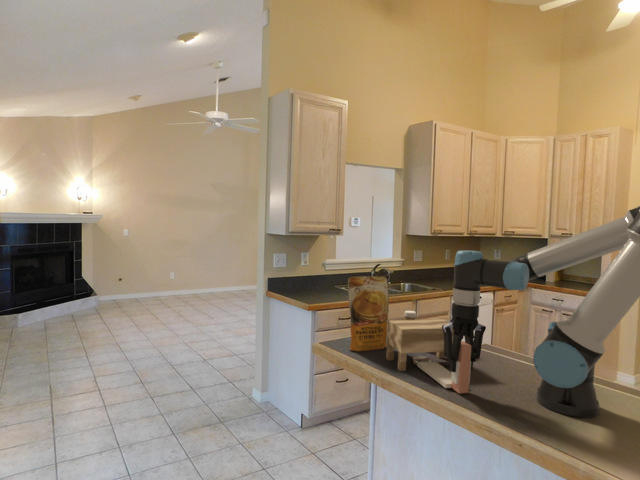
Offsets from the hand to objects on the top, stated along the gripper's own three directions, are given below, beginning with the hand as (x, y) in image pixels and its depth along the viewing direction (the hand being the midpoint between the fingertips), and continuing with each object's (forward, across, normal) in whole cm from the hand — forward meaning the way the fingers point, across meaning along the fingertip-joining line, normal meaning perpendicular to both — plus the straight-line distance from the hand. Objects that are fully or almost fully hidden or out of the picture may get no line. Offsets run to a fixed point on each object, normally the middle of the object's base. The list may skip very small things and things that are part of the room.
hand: (460, 381), depth 121 cm
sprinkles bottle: (+3, -6, -45) cm, 45 cm away
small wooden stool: (+3, 0, -24) cm, 24 cm away
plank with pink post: (+3, 0, -9) cm, 9 cm away
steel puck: (+3, 0, -24) cm, 24 cm away
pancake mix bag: (+3, +14, -42) cm, 44 cm away
